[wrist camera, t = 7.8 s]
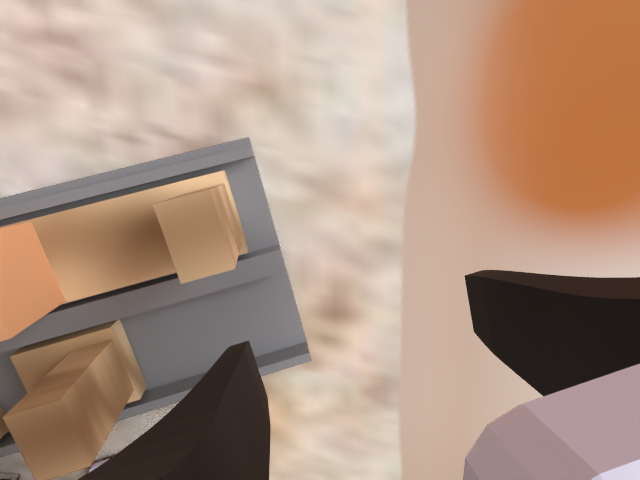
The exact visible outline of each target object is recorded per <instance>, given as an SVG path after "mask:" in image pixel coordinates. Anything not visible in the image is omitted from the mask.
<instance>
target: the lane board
mask: <svg viewBox="0 0 640 480" xmlns="http://www.w3.org/2000/svg"><path fill="white" fill-rule="evenodd" d="M223 170H225V172H226V175H227V178H228V182H229V185H230V188H231V192H232V195H233V198H234V202H235V205H236V208H237V212H238V215H239V218H240V221H241V225H242V228H243V231H244V235H245V238H246V241H247V245H248V253H245V254H241V255H239V256H238V259H237V263H236V267H235V269H233V270H229V271H226V272H222V273H219V274H215V275H211V276H208V277H204V278H201V279H197V280H194V281H190V282H186V283H183V284H181V283H180V280H179V277H178V274H177V272H176V273H173V274H169V275H165V276H162V277H158V278H155V279H151V280H147V281H144V282H140V283H137V284H133V285H129V286H126V287H122V288H118V289H115V290H111V291H108V292H104V293H100V294H97V295H93V296H90V297H86V298H82V299H79V300H75V301H72V302H68V303H64V304H61V305H59V306H58V307H56V308H55V309H53V310H52V311H50V312H49V313H47V314H46V315H45V316H43V317H42V318H40V319H39V320H37V321H36V322H34V323H33V324H31V325H30V326H28V327H27V328H26V329H24V330H23V331H21V332H20V333H18V334H17V335H15V336H14V337H12V338H11V339H7V340H4V341H0V406H1V407H2V409H3V411H4V413H5V415H6V414H7V413H8V412H9V411H10V410H11V409H12V408H13V407H14V406H15V405H16V404H17V403H18V402H19V401H20V400H21V399H22V398H23V397H24V396H25V395H26V394H27V391H26V389H25V387H24V384H23V382H22V380H21V378H20V376H19V374H18V372H17V370H16V368H15V366H14V364H13V362H12V360H11V358H10V356H11V355H12V354H14V353H15V352H16V351H18V350H19V349H20V348H22V347H23V346H26V345H30V344H33V343H37V342H40V341H44V340H47V339H51V338H54V337H58V336H61V335H65V334H68V333H72V332H76V331H79V330H83V329H86V328H90V327H93V326H97V325H100V324H104V323H107V322H111V321H114V320H118V319H120V321H121V323H122V326H123V328H124V330H125V333H126V335H127V338H128V340H129V343H130V345H131V348H132V350H133V353H134V355H135V358H136V360H137V363H138V365H139V368H140V370H141V372H142V375H143V377H144V380H145V382H146V385H147V387H146V389H145V391H144V393H143V395H142V397H141V399H140V400H136V401H133V402H130V403H127V404H126V405H125V407H124V408H123V410H122V412H121V414H120V415H119V417H118V419H117V421H119V420H122V419H125V418H129V417H132V416H135V415H138V414H141V413H145V412H148V411H151V410H154V409H158V408H161V407H164V406H167V405H170V404H174V403H177V402H180V401H181V400H182V399H183V398H184V397H185V396H186V395H187V394H188V393H189V392H190V391H191V390H192V388H193V387H194V386H195V385H196V384H197V383H198V382H199V381H200V380H201V379H202V378H203V376H204V375H205V374H206V373H207V372H208V370H209V369H210V368H211V367H212V366H213V365H214V363H215V362H216V361H217V360H218V359H219V357H220V356H221V355H222V354H223V353H224V351H225V350H226V349H227V348H228V347H229V346H232V345H235V344H239V343H242V342H245V341H249V342H250V345H251V348H252V351H253V354H254V357H255V360H256V363H257V366H258V370H259V373H260V376H264V375H267V374H270V373H273V372H277V371H280V370H283V369H286V368H289V367H293V366H296V365H299V364H302V363H306V362H309V361H312V360H311V356H310V352H309V348H308V344H307V341H306V337H305V334H304V330H303V327H302V323H301V320H300V316H299V313H298V309H297V305H296V302H295V298H294V295H293V291H292V288H291V284H290V281H289V277H288V274H287V270H286V266H285V263H284V259H283V256H282V252H281V249H280V245H279V242H278V238H277V235H276V231H275V227H274V224H273V220H272V217H271V213H270V210H269V206H268V203H267V199H266V196H265V192H264V188H263V185H262V181H261V178H260V174H259V171H258V167H257V164H256V160H255V157H254V153H253V150H252V146H251V142H250V139H249V137H248V138H243V139H239V140H235V141H231V142H227V143H223V144H219V145H215V146H211V147H207V148H203V149H199V150H195V151H191V152H187V153H183V154H179V155H174V156H170V157H166V158H162V159H158V160H154V161H150V162H146V163H142V164H138V165H134V166H130V167H126V168H122V169H118V170H114V171H110V172H105V173H101V174H97V175H93V176H89V177H85V178H81V179H77V180H73V181H69V182H65V183H61V184H57V185H53V186H49V187H45V188H41V189H36V190H32V191H28V192H24V193H20V194H16V195H12V196H8V197H4V198H0V227H2V226H6V225H10V224H14V223H18V222H22V221H26V220H29V219H33V218H37V217H41V216H45V215H49V214H53V213H57V212H61V211H65V210H69V209H73V208H77V207H81V206H85V205H89V204H93V203H97V202H101V201H104V200H108V199H112V198H116V197H120V196H124V195H128V194H132V193H136V192H140V191H144V190H148V189H152V188H156V187H160V186H164V185H168V184H172V183H175V182H179V181H183V180H187V179H191V178H195V177H199V176H203V175H207V174H211V173H215V172H219V171H223ZM19 451H20V450H19V448H18V446H17V444H16V442H15V440H14V439H13V437H12V435H11V433H10V431H8V432H7V433H6V434H5V435H4V436H3V437H2V438H1V439H0V457H3V456H6V455H10V454H13V453H16V452H19Z"/></svg>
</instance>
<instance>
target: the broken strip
mask: <svg viewBox="0 0 640 480" xmlns="http://www.w3.org/2000/svg"><path fill="white" fill-rule="evenodd" d="M10 358H11V360H12V362H13V364H14V366H15V368H16V370H17V372H18V374H19V376H20V378H21V380H22V382H23V384H24V387H25V389H26V391H27V394H26V395H25V396H24V397H23V398H22V399H21V400H20V401H19V402H18V403H17V404H16V405H15V406H14V407H13V408H12V409H11V410H10V411H9V412H8V413H7V414H6V415H5V413H4V411H3V409H2V407H1V406H0V439H1V438H2V437H3V436H4V435H5V434H6V433H7V432H8V431H10V433H11V435H12V437H13V439H14V440H15V442H16V444H17V446H18V448H19V450H20V452H21V454H22V456H23V458H24V460H25V462H26V464H27V465H28V467H29V469H30V471H31V473H32V475H33V477H34V479H35V480H49V479H52V478H55V477H58V476H61V475H64V474H68V473H71V472H74V471H77V470H80V469H83V468H86V467H89V466H91V464H92V462H93V461H94V459H95V457H96V455H97V454H98V452H99V450H100V448H101V447H102V445H103V443H104V441H105V440H106V438H107V436H108V435H109V433H110V431H111V429H112V428H113V426H114V424H115V422H116V421H117V419H118V417H119V415H120V414H121V412H122V410H123V408H124V407H125V405H126V404H127V403H130V402H133V401H136V400H140V399H141V397H142V395H143V393H144V391H145V389H146V387H147V385H146V382H145V380H144V377H143V375H142V372H141V370H140V368H139V365H138V363H137V360H136V358H135V355H134V353H133V350H132V348H131V345H130V343H129V340H128V338H127V335H126V333H125V330H124V328H123V326H122V323H121V321H120V319H118V320H114V321H111V322H107V323H104V324H100V325H97V326H93V327H90V328H86V329H83V330H79V331H76V332H72V333H68V334H65V335H61V336H58V337H54V338H51V339H47V340H44V341H40V342H37V343H33V344H30V345H26V346H23V347H22V348H20V349H19V350H18V351H16V352H15V353H14V354H12V355H11V356H10Z"/></svg>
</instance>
